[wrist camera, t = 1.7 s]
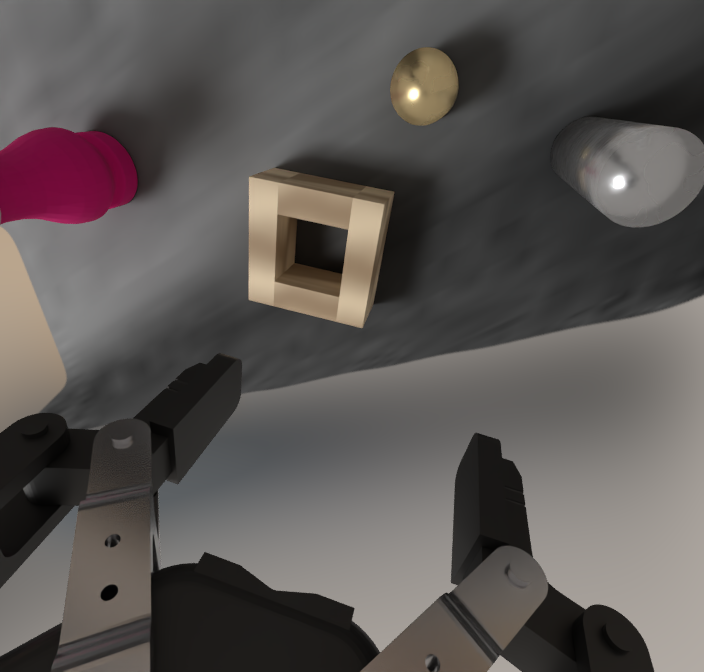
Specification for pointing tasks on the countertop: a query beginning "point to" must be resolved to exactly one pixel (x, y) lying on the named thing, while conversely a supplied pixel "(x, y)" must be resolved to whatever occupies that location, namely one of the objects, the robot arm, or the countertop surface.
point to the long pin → (630, 168)
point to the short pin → (424, 86)
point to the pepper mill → (64, 176)
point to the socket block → (280, 242)
